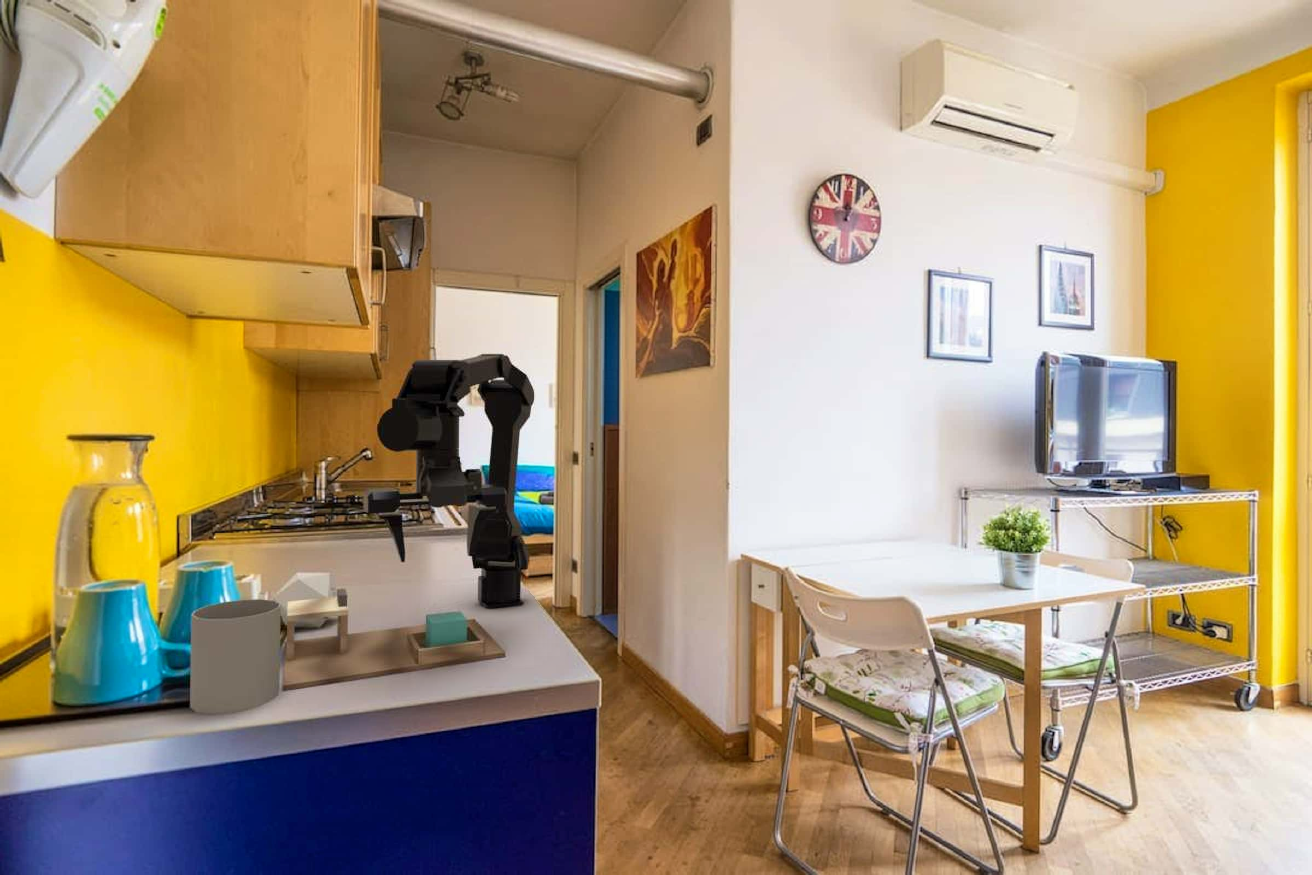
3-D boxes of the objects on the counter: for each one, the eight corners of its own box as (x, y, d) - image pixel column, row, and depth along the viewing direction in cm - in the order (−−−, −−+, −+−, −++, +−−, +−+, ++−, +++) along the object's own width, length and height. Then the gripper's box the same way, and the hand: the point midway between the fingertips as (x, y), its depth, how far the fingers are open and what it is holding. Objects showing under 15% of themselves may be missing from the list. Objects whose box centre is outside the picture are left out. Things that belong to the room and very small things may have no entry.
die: (293, 641, 94) (339, 584, 97) (249, 608, 96) (296, 553, 98) (320, 644, 102) (361, 591, 105) (278, 613, 103) (321, 562, 106)
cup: (296, 687, 76) (297, 602, 76) (236, 717, 68) (238, 622, 68) (235, 680, 78) (236, 597, 78) (170, 708, 70) (172, 615, 70)
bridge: (343, 635, 93) (344, 585, 93) (347, 652, 86) (348, 598, 86) (287, 642, 89) (287, 590, 89) (286, 660, 83) (287, 603, 83)
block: (459, 642, 91) (459, 610, 91) (466, 652, 87) (466, 619, 87) (425, 647, 89) (425, 614, 89) (431, 657, 85) (431, 623, 85)
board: (474, 622, 103) (474, 607, 103) (505, 656, 88) (505, 638, 88) (284, 646, 90) (285, 628, 90) (283, 690, 75) (283, 669, 75)
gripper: (373, 452, 80) (373, 578, 81) (520, 451, 90) (519, 563, 90) (363, 448, 90) (362, 560, 90) (496, 447, 99) (495, 549, 100)
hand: (437, 558), depth 92 cm, fingers open, 9 cm apart
